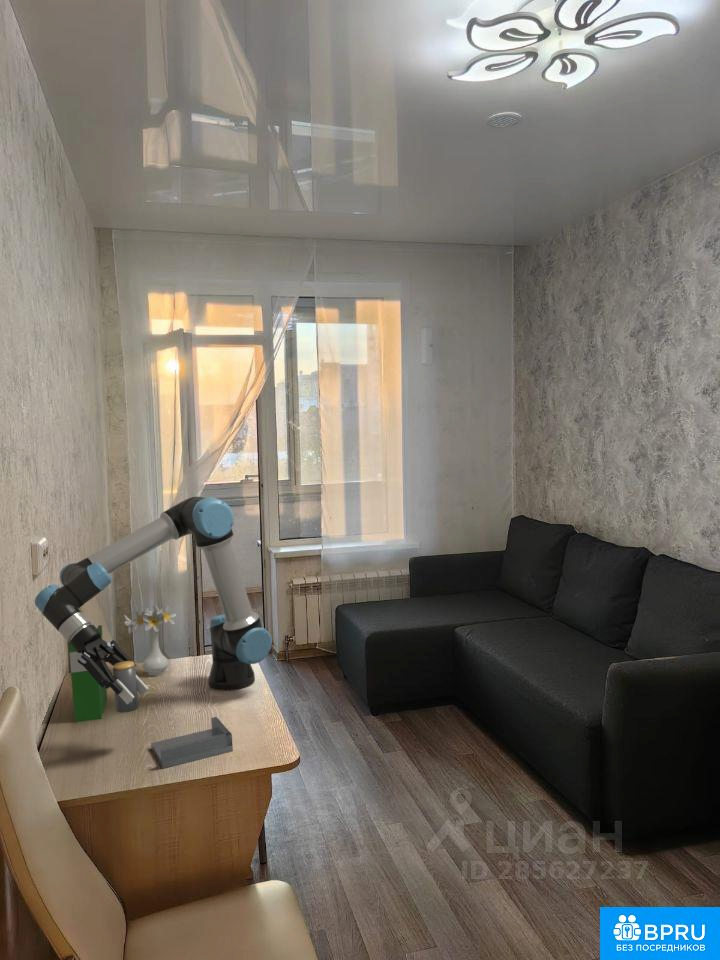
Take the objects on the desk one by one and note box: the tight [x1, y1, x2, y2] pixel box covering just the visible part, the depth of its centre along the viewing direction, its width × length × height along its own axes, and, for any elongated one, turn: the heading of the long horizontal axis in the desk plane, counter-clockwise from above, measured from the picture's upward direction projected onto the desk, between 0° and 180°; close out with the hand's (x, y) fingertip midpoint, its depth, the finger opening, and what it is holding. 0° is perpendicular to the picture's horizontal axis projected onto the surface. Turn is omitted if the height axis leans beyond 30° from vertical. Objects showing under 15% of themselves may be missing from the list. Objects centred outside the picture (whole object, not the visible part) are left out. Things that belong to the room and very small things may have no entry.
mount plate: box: [150, 716, 234, 769], centre depth 193 cm, size 18×14×4 cm
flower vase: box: [124, 604, 177, 677], centre depth 258 cm, size 12×18×24 cm
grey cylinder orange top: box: [112, 660, 139, 714], centre depth 194 cm, size 6×6×12 cm
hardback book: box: [68, 624, 108, 723], centre depth 225 cm, size 18×7×24 cm, turn 14°
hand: (138, 696), depth 193 cm, fingers closed on grey cylinder orange top, 6 cm apart
